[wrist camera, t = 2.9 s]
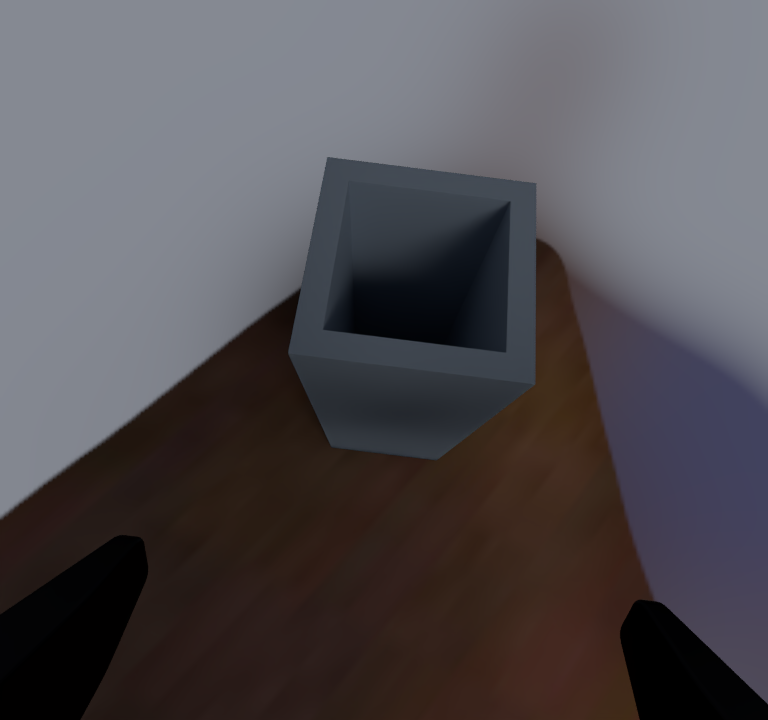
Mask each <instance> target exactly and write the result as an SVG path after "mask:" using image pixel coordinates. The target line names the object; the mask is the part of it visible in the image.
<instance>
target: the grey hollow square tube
mask: <svg viewBox="0 0 768 720" xmlns="http://www.w3.org/2000/svg"><path fill="white" fill-rule="evenodd" d="M535 325H536V183H529V182H521V181H513V180H505V179H497V178H489V177H480V176H473V175H465V174H457V173H449V172H441V171H433V170H425V169H417V168H410V167H401V166H394V165H386V164H378V163H369V162H362V161H353V160H346V159H337V158H330V157H328V158H327V162H326V167H325V172H324V177H323V182H322V187H321V192H320V197H319V202H318V207H317V212H316V217H315V222H314V227H313V232H312V237H311V242H310V247H309V252H308V257H307V262H306V267H305V272H304V277H303V282H302V287H301V292H300V297H299V302H298V307H297V312H296V317H295V322H294V326H293V331H292V336H291V341H290V346H289V351H288V354H289V356H290V359H291V361H292V363H293V365H294V367H295V369H296V372H297V374H298V376H299V378H300V380H301V382H302V385H303V387H304V389H305V391H306V393H307V395H308V397H309V400H310V402H311V404H312V406H313V408H314V410H315V413H316V415H317V417H318V419H319V421H320V423H321V426H322V428H323V430H324V432H325V434H326V436H327V439H328V441H329V443H330V445H331V447H333V448H341V449H350V450H358V451H366V452H374V453H382V454H390V455H398V456H406V457H414V458H422V459H430V460H437V459H439V458H440V457H441V456H443V455H444V454H445V453H447V452H448V451H449V450H450V449H452V448H453V447H454V446H456V445H457V444H458V443H460V442H461V441H462V440H463V439H465V438H466V437H467V436H469V435H470V434H471V433H473V432H474V431H475V430H476V429H478V428H479V427H480V426H482V425H483V424H484V423H486V422H487V421H488V420H489V419H491V418H492V417H493V416H495V415H496V414H497V413H498V412H500V411H501V410H502V409H504V408H505V407H506V406H508V405H509V404H510V403H511V402H513V401H514V400H515V399H517V398H518V397H519V396H521V395H522V394H523V393H524V392H526V391H527V390H528V389H530V388H531V387H532V386H534V385H535Z"/></svg>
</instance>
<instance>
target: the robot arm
mask: <svg viewBox="0 0 768 720" xmlns="http://www.w3.org/2000/svg"><path fill="white" fill-rule="evenodd" d="M147 575H148V563H147V557H146V551H145V546H144V541H143V540H142V539H141V538H140V537H135V536H127V535H119V536H116V537H114V538H113V539H111V540H110V541H108V542H107V543H105V544H104V545H102V546H101V547H99V548H98V549H96V550H95V551H93V552H92V553H90V554H89V555H87V556H86V557H84V558H83V559H81V560H80V561H79V562H77V563H76V564H74V565H73V566H71V567H70V568H68V569H67V570H65V571H64V572H62V573H61V574H59V575H58V576H56V577H55V578H53V579H52V580H50V581H49V582H48V583H46V584H45V585H43V586H42V587H40V588H39V589H37V590H36V591H34V592H33V593H31V594H30V595H28V596H27V597H25V598H24V599H22V600H21V601H19V602H18V603H17V604H15V605H14V606H12V607H11V608H9V609H8V610H6V611H5V612H3V613H2V614H0V720H80V719H81V718H82V716H83V714H84V712H85V710H86V708H87V707H88V705H89V703H90V701H91V699H92V698H93V696H94V694H95V692H96V690H97V688H98V686H99V685H100V683H101V681H102V679H103V677H104V675H105V673H106V671H107V669H108V667H109V664H110V662H111V660H112V658H113V656H114V653H115V651H116V649H117V646H118V644H119V642H120V640H121V637H122V635H123V633H124V630H125V628H126V626H127V623H128V621H129V619H130V616H131V614H132V612H133V610H134V607H135V605H136V603H137V600H138V598H139V596H140V593H141V591H142V589H143V586H144V584H145V582H146V579H147ZM620 639H621V644H622V649H623V653H624V657H625V661H626V665H627V669H628V673H629V677H630V682H631V686H632V690H633V694H634V698H635V702H636V706H637V710H638V715H639V719H640V720H768V704H767V703H766V702H765V701H764V700H763V699H762V698H761V697H760V696H759V695H758V694H757V693H755V691H753V690H752V689H751V688H750V687H749V686H748V685H747V684H746V683H745V682H744V681H743V680H742V679H741V678H740V677H739V676H738V675H737V674H736V673H735V672H734V671H733V670H732V669H731V668H729V666H727V665H726V664H725V663H724V662H723V661H722V660H721V659H720V658H719V657H718V656H717V655H716V654H715V653H714V652H713V651H712V650H711V649H710V648H709V647H708V646H707V645H706V644H705V643H703V641H701V640H700V639H699V638H698V637H697V636H696V635H695V634H694V633H693V632H692V631H691V630H690V629H689V628H688V627H687V626H686V625H685V624H684V623H683V622H682V621H680V619H679V618H678V617H676V616H675V615H674V614H673V613H672V612H671V611H670V610H669V609H668V608H667V607H666V606H665V605H663V604H662V603H660V602H656V601H648V600H637V601H636V602H634V604H633V606H632V607H631V609H630V611H629V613H628V615H627V617H626V619H625V620H624V622H623V624H622V626H621V630H620Z"/></svg>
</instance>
